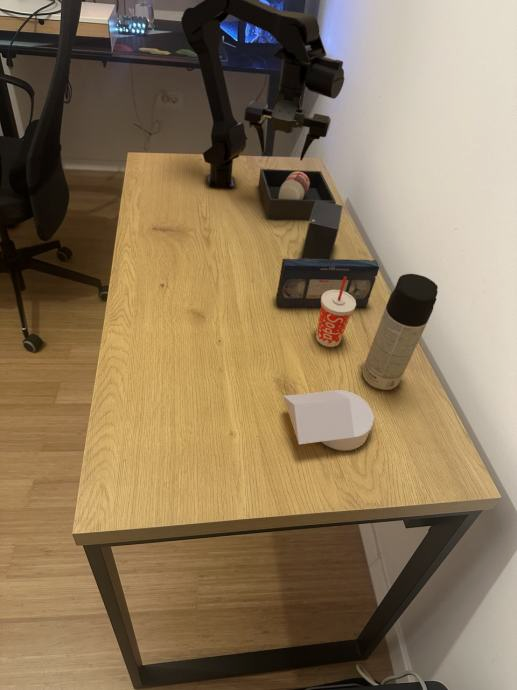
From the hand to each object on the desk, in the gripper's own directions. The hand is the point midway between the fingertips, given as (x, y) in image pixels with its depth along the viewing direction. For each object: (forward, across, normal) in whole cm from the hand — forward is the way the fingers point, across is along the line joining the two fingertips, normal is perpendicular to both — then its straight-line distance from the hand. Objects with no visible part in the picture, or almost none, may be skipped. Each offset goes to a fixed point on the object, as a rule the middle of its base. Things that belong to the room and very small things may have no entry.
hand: (282, 155), depth 118 cm
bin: (+13, +4, +3) cm, 14 cm away
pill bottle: (+9, +4, +7) cm, 12 cm away
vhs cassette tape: (+13, +18, -35) cm, 41 cm away
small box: (+13, +14, -18) cm, 26 cm away
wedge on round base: (+12, +23, -65) cm, 70 cm away
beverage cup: (+13, +20, -44) cm, 51 cm away
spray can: (+12, +30, -51) cm, 61 cm away
